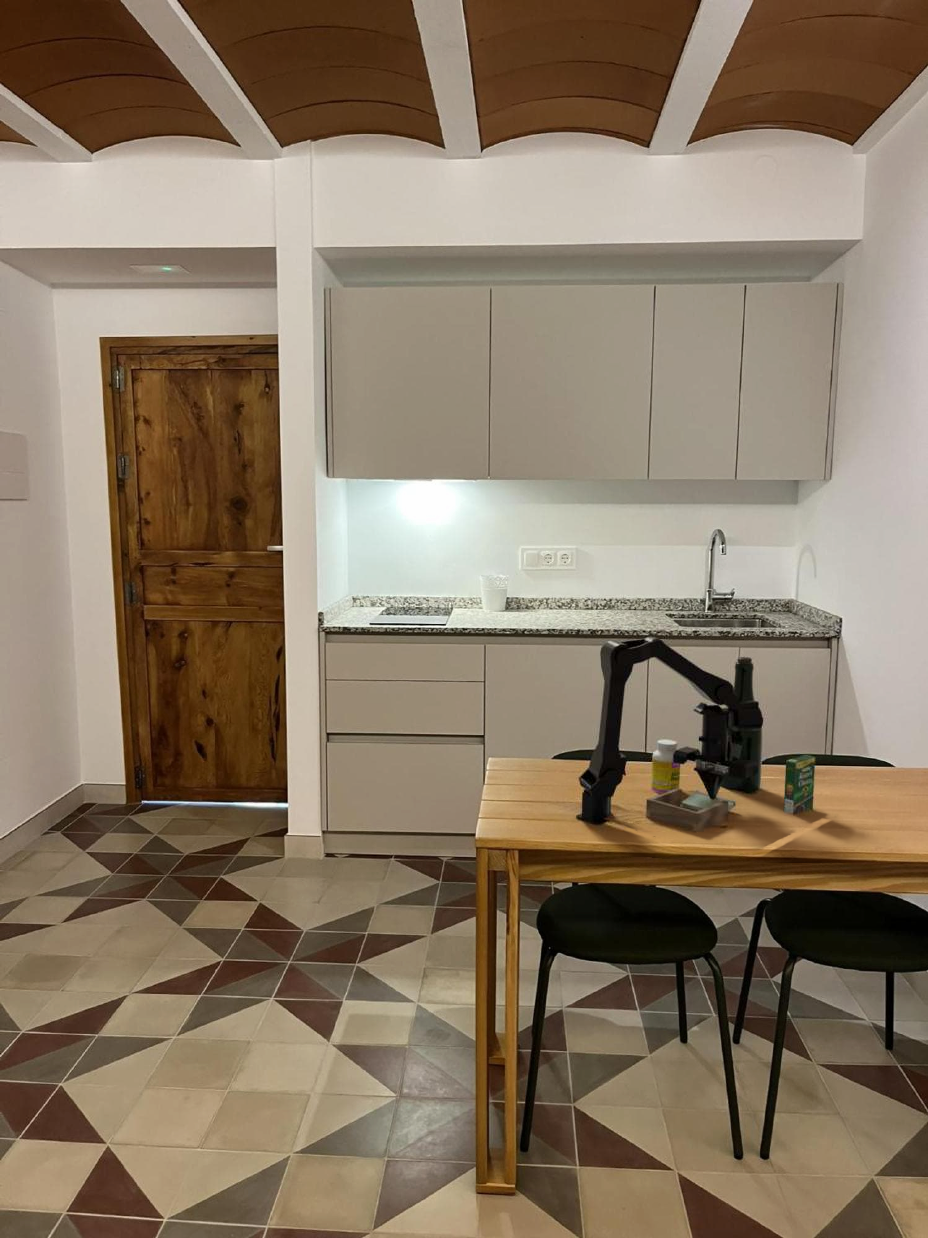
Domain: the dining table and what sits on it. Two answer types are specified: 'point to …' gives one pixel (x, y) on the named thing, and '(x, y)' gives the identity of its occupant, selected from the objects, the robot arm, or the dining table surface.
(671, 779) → the supplement bottle
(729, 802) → the green grey flat panel
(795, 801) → the coffee box
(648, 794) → the dining table surface
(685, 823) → the brown hollow box
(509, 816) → the dining table surface
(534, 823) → the dining table surface
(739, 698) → the green wine bottle
